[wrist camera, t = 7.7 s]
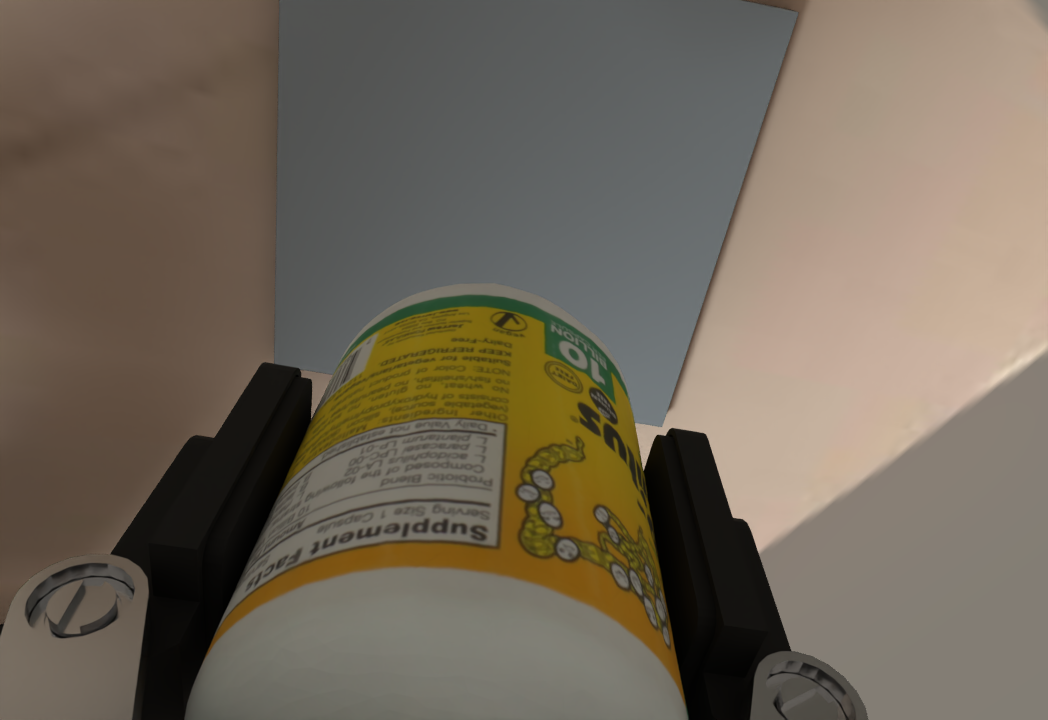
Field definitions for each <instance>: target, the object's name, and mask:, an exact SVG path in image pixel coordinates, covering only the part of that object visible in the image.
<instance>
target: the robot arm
mask: <svg viewBox="0 0 1048 720" xmlns="http://www.w3.org/2000/svg"><path fill="white" fill-rule="evenodd" d="M311 404H312V380H311V379H308V378H302V377H301V371H300V369H299V368H297V367H290V366H284V365H278V364H272V363H266V362H265V363H262V364H261V365H260V367H259V368H258V370H257V371H256V373H255V375H254V376H253V378H252V379H251V381H250V382H249V384H248V386H247V387H246V389H245V390H244V392H243V394H242V395H241V397H240V398H239V400H238V401H237V403H236V405H235V406H234V408H233V409H232V411H231V413H230V414H229V416H228V417H227V419H226V420H225V422H224V424H223V425H222V427H221V428H220V430H219V431H218V433H217V435H216V436H215V438H210V437H204V436H197V435H195V436H193V437H191V438H190V439H189V440H188V441H187V442H186V444H185V445H184V446H183V448H182V449H181V451H180V452H179V454H178V455H177V457H176V458H175V460H174V461H173V463H172V464H171V466H170V467H169V468H168V470H167V471H166V473H165V474H164V476H163V477H162V479H161V480H160V482H159V483H158V485H157V486H156V488H155V489H154V490H153V492H152V493H151V495H150V496H149V498H148V499H147V501H146V502H145V504H144V505H143V507H142V508H141V510H140V511H139V513H138V514H137V515H136V517H135V518H134V520H133V521H132V523H131V524H130V526H129V527H128V529H127V530H126V532H125V533H124V535H123V536H122V537H121V539H120V540H119V542H118V543H117V545H116V546H115V548H114V549H113V551H112V552H111V554H88V555H83V556H77V557H71V558H68V559H66V560H63V561H60V562H58V563H55V564H52V565H50V566H48V567H47V568H45V569H44V570H42V571H40V572H39V573H37V574H35V575H34V576H32V577H31V578H30V579H29V580H28V581H27V582H26V583H25V584H24V585H23V586H22V587H21V588H20V589H19V590H18V592H17V593H16V595H15V597H14V599H13V601H12V603H11V605H10V607H9V610H8V613H7V617H6V620H5V623H4V624H1V625H0V720H184V718H185V713H186V707H187V702H188V699H189V696H190V693H191V690H192V687H193V684H194V682H195V680H196V677H197V675H198V673H199V670H200V668H201V666H202V663H203V661H204V659H205V656H206V654H207V652H208V649H209V647H210V645H211V642H212V640H213V638H214V635H215V633H216V631H217V628H218V626H219V624H220V622H221V620H222V617H223V615H224V613H225V611H226V609H227V606H228V604H229V602H230V600H231V598H232V595H233V593H234V591H235V589H236V587H237V584H238V582H239V580H240V578H241V575H242V573H243V571H244V569H245V566H246V564H247V562H248V560H249V557H250V555H251V553H252V551H253V549H254V546H255V544H256V542H257V540H258V538H259V536H260V533H261V531H262V529H263V527H264V525H265V523H266V520H267V518H268V516H269V514H270V512H271V510H272V507H273V505H274V503H275V501H276V499H277V497H278V494H279V492H280V490H281V488H282V486H283V484H284V481H285V479H286V477H287V474H288V472H289V469H290V467H291V465H292V463H293V461H294V458H295V456H296V454H297V452H298V449H299V447H300V445H301V443H302V441H303V439H304V436H305V434H306V431H307V428H308V426H309V424H310V422H311ZM644 475H645V481H646V488H647V493H648V502H649V508H650V513H651V517H652V521H653V527H654V534H655V541H656V547H657V551H658V560H659V565H660V569H661V574H662V581H663V588H664V594H665V599H666V604H667V609H668V614H669V619H670V623H671V628H672V635H673V641H674V647H675V652H676V657H677V662H678V667H679V672H680V677H681V682H682V687H683V692H684V696H685V701H686V706H687V710H688V716H689V720H868V716H867V712H866V708H865V706H864V704H863V702H862V700H861V698H860V697H859V695H858V693H857V691H856V690H855V689H854V688H853V686H852V685H851V684H850V683H849V682H848V681H847V680H846V678H844V676H842V675H841V674H840V673H839V672H837V671H836V670H835V669H833V668H832V667H831V666H830V665H828V664H826V663H824V662H822V661H820V660H818V659H817V658H815V657H813V656H810V655H806V654H802V653H799V652H795V651H791V649H790V646H789V643H788V640H787V637H786V634H785V631H784V628H783V625H782V622H781V619H780V616H779V613H778V610H777V607H776V604H775V601H774V598H773V595H772V592H771V589H770V586H769V583H768V580H767V577H766V574H765V571H764V568H763V565H762V562H761V560H760V556H759V554H758V551H757V548H756V545H755V542H754V539H753V536H752V533H751V530H750V528H749V526H748V524H747V522H745V521H744V520H743V519H737V518H733V517H732V514H731V511H730V508H729V505H728V501H727V498H726V495H725V492H724V489H723V485H722V482H721V479H720V476H719V473H718V470H717V466H716V463H715V460H714V457H713V454H712V450H711V447H710V444H709V441H708V438H707V436H706V434H704V433H700V432H693V431H687V430H681V429H675V428H671V429H669V431H668V432H667V434H666V436H663V435H657V436H656V437H655V439H654V441H653V444H652V447H651V450H650V453H649V456H648V460H647V463H646V466H645V469H644Z"/></svg>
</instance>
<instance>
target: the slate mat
mask: <svg viewBox="0 0 1048 720" xmlns="http://www.w3.org/2000/svg"><path fill="white" fill-rule="evenodd" d="M798 13H799V12H796V11H793V10H789V9H784V8H779V7H774V6H769V5H764V4H759V3H754V2H750V1H745V0H279V65H278V134H277V203H276V271H275V340H274V364H278V365H284V366H290V367H297V368H299V369H300V370H307V371H313V372H319V373H325V374H332V375H333V374H334V372H335V370H336V368H337V366H338V364H339V362H340V360H341V358H342V356H343V354H344V352H345V351H346V349H347V347H348V346H349V344H350V343H351V342H352V341H353V339H354V338H355V337H356V336H357V334H358V333H359V332H360V331H361V330H362V329H363V328H364V327H365V326H366V325H367V324H368V323H369V322H370V321H371V320H372V319H374V318H375V317H376V316H378V315H379V314H380V313H382V312H383V311H384V310H386V309H387V308H389V307H390V306H392V305H394V304H395V303H397V302H399V301H401V300H403V299H405V298H407V297H409V296H412V295H414V294H417V293H420V292H424V291H427V290H431V289H435V288H439V287H444V286H450V285H456V284H480V283H495V284H499V285H504V286H509V287H512V288H516V289H519V290H523V291H526V292H529V293H532V294H535V295H538V296H540V297H542V298H544V299H546V300H548V301H550V302H552V303H553V304H555V305H557V306H558V307H560V308H562V309H563V310H564V311H566V312H567V313H569V314H570V315H571V316H573V317H574V318H575V319H576V320H578V321H579V322H580V323H581V324H582V325H584V326H585V327H586V328H587V329H588V330H590V331H591V332H592V333H593V334H595V335H596V336H597V337H598V338H599V339H600V340H601V341H602V343H603V344H604V345H605V346H606V347H607V348H608V350H609V351H610V353H611V355H612V356H613V358H614V359H615V360H616V362H617V363H618V366H619V368H620V370H621V372H622V375H623V377H624V380H625V383H626V385H627V389H628V393H629V397H630V403H631V406H632V410H633V413H634V420H635V423H639V424H646V425H652V426H658V427H662V426H663V423H664V420H665V417H666V414H667V410H668V407H669V404H670V401H671V398H672V395H673V392H674V389H675V386H676V383H677V380H678V377H679V374H680V371H681V368H682V365H683V362H684V359H685V356H686V353H687V350H688V347H689V344H690V341H691V338H692V335H693V332H694V329H695V326H696V322H697V319H698V316H699V313H700V310H701V307H702V304H703V301H704V298H705V295H706V292H707V289H708V286H709V283H710V280H711V277H712V274H713V271H714V268H715V265H716V262H717V259H718V256H719V253H720V250H721V247H722V244H723V241H724V238H725V234H726V231H727V228H728V225H729V222H730V219H731V216H732V213H733V210H734V207H735V204H736V201H737V198H738V195H739V192H740V189H741V186H742V183H743V180H744V177H745V174H746V171H747V168H748V165H749V162H750V159H751V156H752V153H753V150H754V146H755V143H756V140H757V137H758V134H759V131H760V128H761V125H762V122H763V119H764V116H765V113H766V110H767V107H768V104H769V101H770V98H771V95H772V92H773V89H774V86H775V83H776V80H777V77H778V74H779V71H780V68H781V65H782V62H783V59H784V55H785V52H786V49H787V46H788V43H789V40H790V37H791V34H792V31H793V28H794V25H795V22H796V19H797V16H798Z"/></svg>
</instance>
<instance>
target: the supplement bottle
mask: <svg viewBox="0 0 1048 720" xmlns="http://www.w3.org/2000/svg"><path fill="white" fill-rule="evenodd" d="M184 720H689V716H688V710H687V706H686V701H685V696H684V692H683V687H682V682H681V677H680V672H679V667H678V662H677V657H676V652H675V647H674V641H673V635H672V628H671V623H670V619H669V614H668V609H667V604H666V599H665V594H664V588H663V581H662V574H661V569H660V565H659V560H658V551H657V547H656V541H655V534H654V527H653V521H652V517H651V513H650V508H649V502H648V493H647V488H646V481H645V475H644V471H643V468H642V462H641V456H640V450H639V444H638V438H637V433H636V428H635V420H634V413H633V410H632V406H631V403H630V397H629V393H628V389H627V385H626V383H625V380H624V377H623V375H622V372H621V370H620V368H619V366H618V363H617V362H616V360H615V359H614V358H613V356H612V355H611V353H610V351H609V350H608V348H607V347H606V346H605V345H604V344H603V343H602V341H601V340H600V339H599V338H598V337H597V336H596V335H595V334H593V333H592V332H591V331H590V330H588V329H587V328H586V327H585V326H584V325H582V324H581V323H580V322H579V321H578V320H576V319H575V318H574V317H573V316H571V315H570V314H569V313H567V312H566V311H564V310H563V309H562V308H560V307H558V306H557V305H555V304H553V303H552V302H550V301H548V300H546V299H544V298H542V297H540V296H538V295H535V294H532V293H529V292H526V291H523V290H519V289H516V288H512V287H509V286H504V285H499V284H495V283H480V284H456V285H450V286H444V287H439V288H435V289H431V290H427V291H424V292H420V293H417V294H414V295H412V296H409V297H407V298H405V299H403V300H401V301H399V302H397V303H395V304H394V305H392V306H390V307H389V308H387V309H386V310H384V311H383V312H382V313H380V314H379V315H378V316H376V317H375V318H374V319H372V320H371V321H370V322H369V323H368V324H367V325H366V326H365V327H364V328H363V329H362V330H361V331H360V332H359V333H358V334H357V336H356V337H355V338H354V339H353V341H352V342H351V343H350V344H349V346H348V347H347V349H346V351H345V352H344V354H343V356H342V358H341V360H340V362H339V364H338V366H337V368H336V370H335V372H334V374H333V376H332V378H331V380H330V382H329V384H328V387H327V389H326V391H325V393H324V395H323V397H322V399H321V401H320V403H319V405H318V407H317V409H316V411H315V413H314V415H313V417H312V419H311V422H310V424H309V426H308V428H307V431H306V434H305V436H304V439H303V441H302V443H301V445H300V447H299V449H298V452H297V454H296V456H295V458H294V461H293V463H292V465H291V467H290V469H289V472H288V474H287V477H286V479H285V481H284V484H283V486H282V488H281V490H280V492H279V494H278V497H277V499H276V501H275V503H274V505H273V507H272V510H271V512H270V514H269V516H268V518H267V520H266V523H265V525H264V527H263V529H262V531H261V533H260V536H259V538H258V540H257V542H256V544H255V546H254V549H253V551H252V553H251V555H250V557H249V560H248V562H247V564H246V566H245V569H244V571H243V573H242V575H241V578H240V580H239V582H238V584H237V587H236V589H235V591H234V593H233V595H232V598H231V600H230V602H229V604H228V606H227V609H226V611H225V613H224V615H223V617H222V620H221V622H220V624H219V626H218V628H217V631H216V633H215V635H214V638H213V640H212V642H211V645H210V647H209V649H208V652H207V654H206V656H205V659H204V661H203V663H202V666H201V668H200V670H199V673H198V675H197V677H196V680H195V682H194V684H193V687H192V690H191V693H190V696H189V699H188V702H187V707H186V713H185V718H184Z"/></svg>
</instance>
